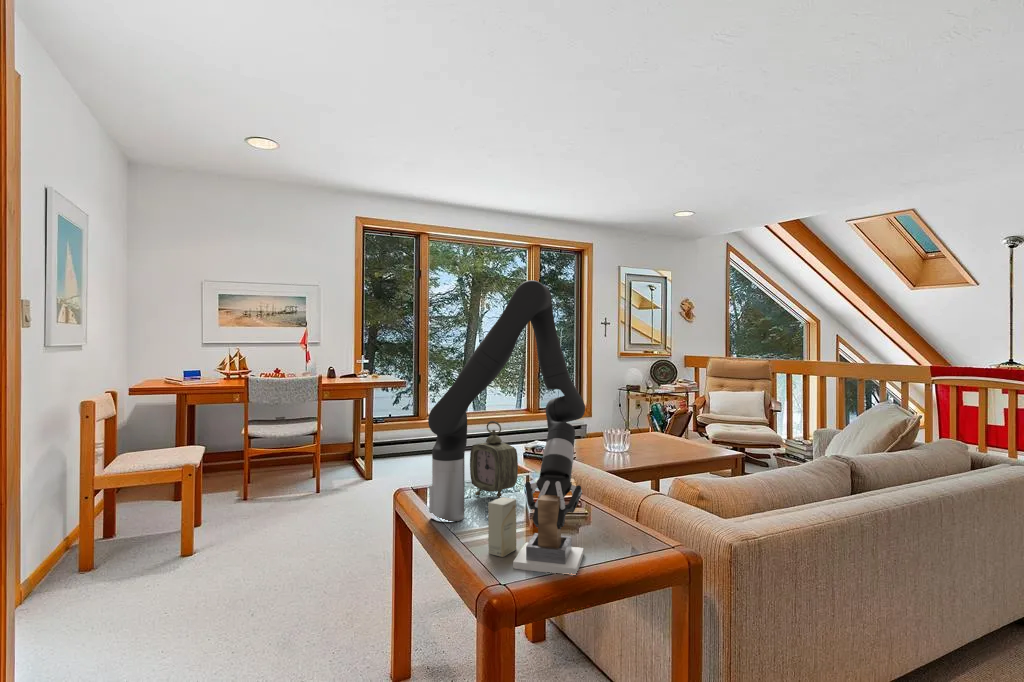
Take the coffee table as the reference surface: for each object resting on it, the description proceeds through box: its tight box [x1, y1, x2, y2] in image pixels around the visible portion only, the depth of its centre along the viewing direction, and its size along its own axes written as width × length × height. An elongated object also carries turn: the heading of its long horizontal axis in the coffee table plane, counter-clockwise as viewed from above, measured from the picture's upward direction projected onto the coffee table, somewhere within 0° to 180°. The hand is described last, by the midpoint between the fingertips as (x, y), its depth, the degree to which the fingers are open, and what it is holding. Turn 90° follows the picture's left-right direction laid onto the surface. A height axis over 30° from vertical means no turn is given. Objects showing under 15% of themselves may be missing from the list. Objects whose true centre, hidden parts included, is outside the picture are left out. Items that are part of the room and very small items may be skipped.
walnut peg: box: [537, 495, 562, 548], centre depth 119 cm, size 4×4×11 cm
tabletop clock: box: [469, 420, 519, 499], centre depth 169 cm, size 14×9×25 cm, turn 43°
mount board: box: [512, 532, 585, 574], centre depth 119 cm, size 14×12×4 cm
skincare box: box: [487, 496, 517, 558], centre depth 125 cm, size 6×4×12 cm
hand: (548, 526), depth 117 cm, fingers closed on walnut peg, 4 cm apart
